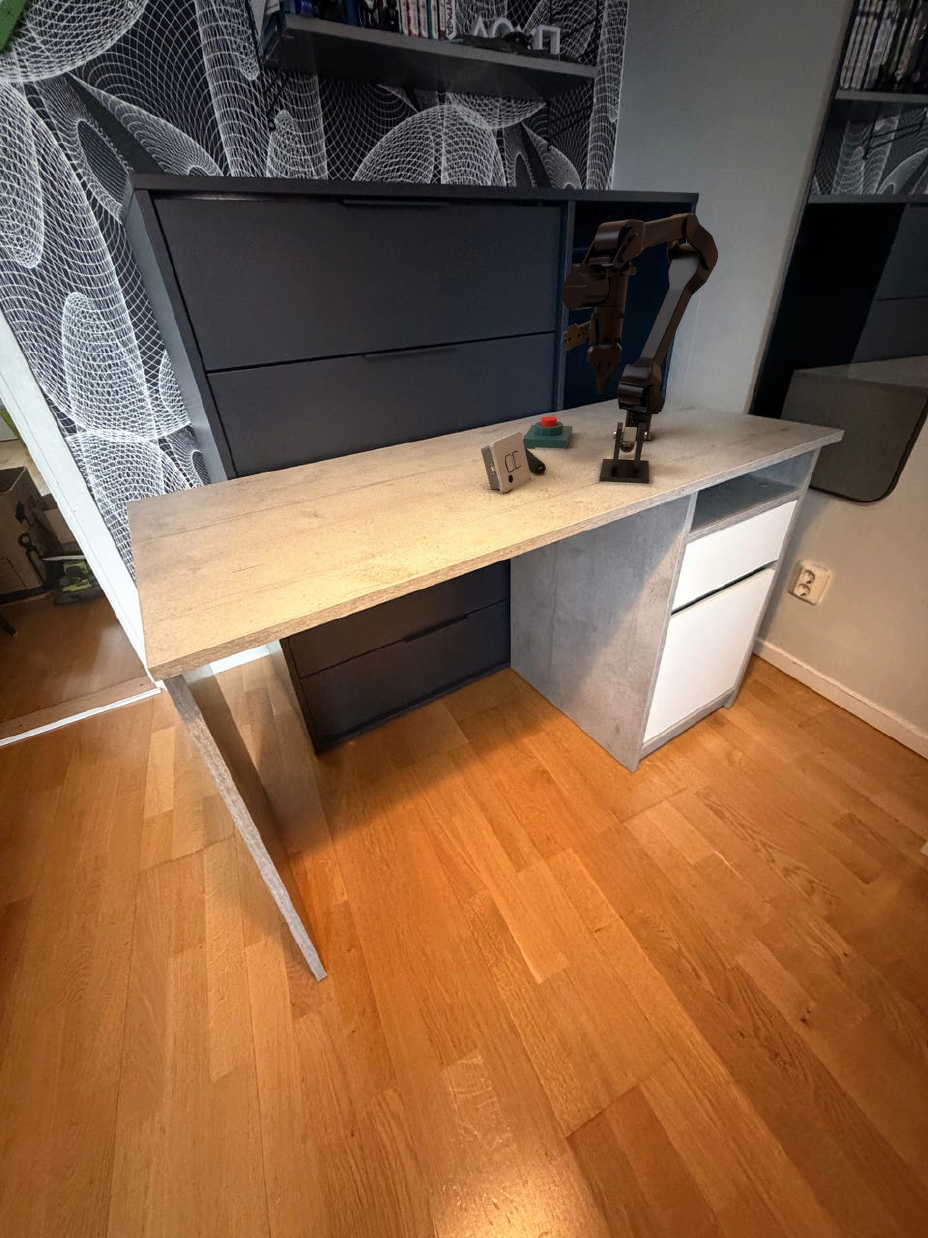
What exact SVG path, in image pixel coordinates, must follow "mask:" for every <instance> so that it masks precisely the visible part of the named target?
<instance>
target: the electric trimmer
mask: <svg viewBox="0 0 928 1238" xmlns="http://www.w3.org/2000/svg"><path fill="white" fill-rule="evenodd" d="M524 448H525V447H524ZM525 453H526V457H527V462H528V466H529V471H530V472H533V473H541V472H542V473H543V472H545V471H547V467H546V466H547V465H546V464H545V463H544V461H542V460H541V459H539V458H538V457H536V455H534V453H532V451H530V449H526V448H525Z"/></svg>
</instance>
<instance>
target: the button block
mask: <svg viewBox="0 0 928 1238" xmlns="http://www.w3.org/2000/svg"><path fill="white" fill-rule="evenodd" d="M572 435H573V425H564V423H563V422H562V421H558V420H557V426H552V427H544V426H541V421H538V422H536V423H534V424H531V425H530V427H529V429H528V430H527V432H526V434H525V435H524V437H522V439H523V443H524V447H525V448H526V449H527V450H536V449H560V450H562V449H563V450H567V448H568V445H569V443H570V440H571V438H572Z"/></svg>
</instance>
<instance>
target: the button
mask: <svg viewBox="0 0 928 1238" xmlns="http://www.w3.org/2000/svg"><path fill="white" fill-rule="evenodd" d="M557 421H558V418H557V417H556V416H543V417H541V419H540V422H541V426H544V427H552V426H557Z"/></svg>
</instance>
